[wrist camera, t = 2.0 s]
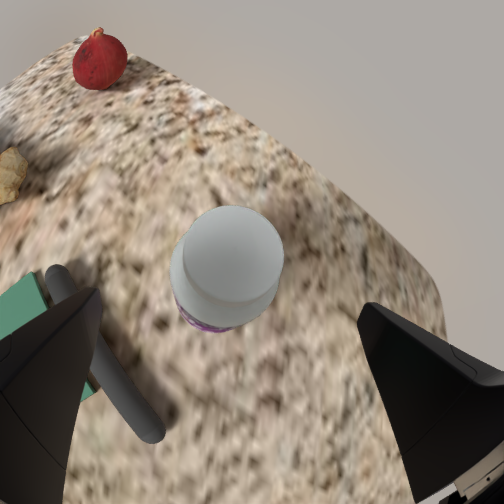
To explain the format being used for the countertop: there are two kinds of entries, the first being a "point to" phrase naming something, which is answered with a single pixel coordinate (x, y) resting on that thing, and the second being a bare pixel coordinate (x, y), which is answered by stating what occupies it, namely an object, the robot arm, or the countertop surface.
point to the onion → (99, 61)
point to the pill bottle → (226, 268)
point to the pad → (26, 311)
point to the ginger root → (11, 174)
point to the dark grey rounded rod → (111, 370)
